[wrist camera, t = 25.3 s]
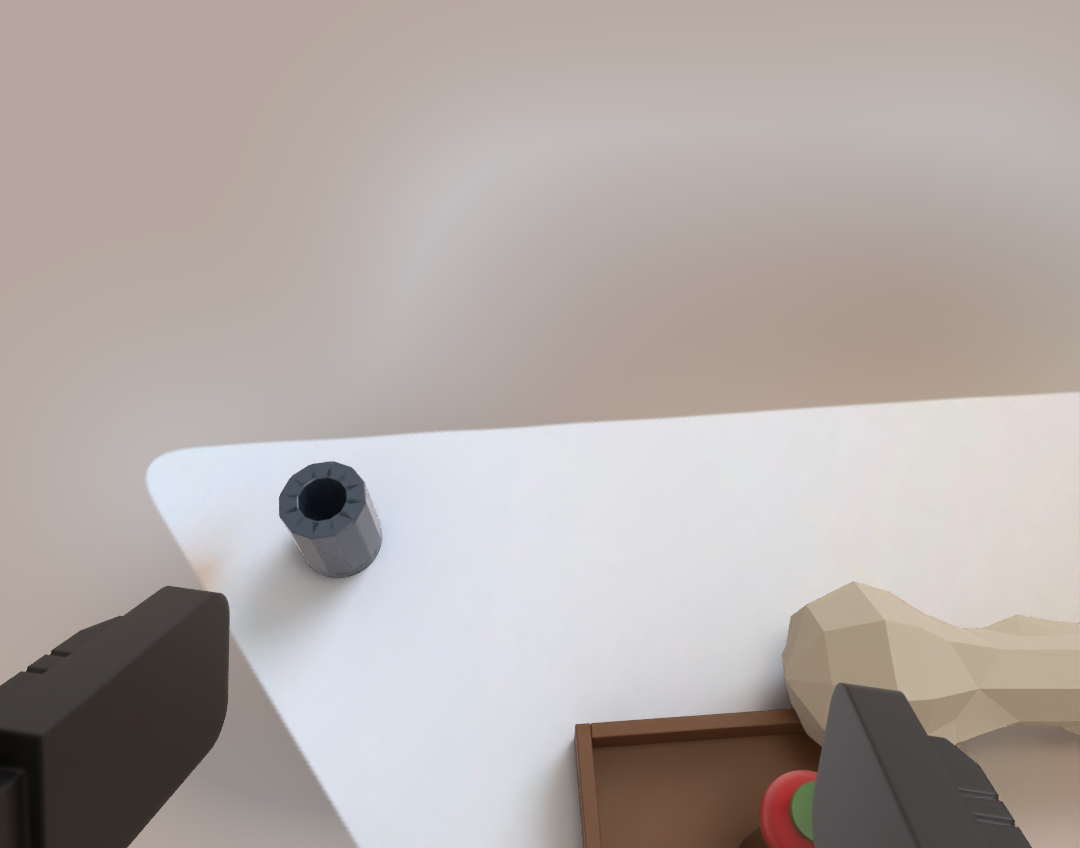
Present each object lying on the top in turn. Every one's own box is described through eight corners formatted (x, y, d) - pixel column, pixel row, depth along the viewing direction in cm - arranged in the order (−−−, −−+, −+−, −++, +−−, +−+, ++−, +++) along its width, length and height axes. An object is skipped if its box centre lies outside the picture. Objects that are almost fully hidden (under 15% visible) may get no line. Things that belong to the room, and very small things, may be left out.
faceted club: (746, 594, 45) (1216, 593, 46) (760, 772, 42) (1257, 767, 43) (802, 571, 37) (1376, 571, 37) (823, 791, 34) (1438, 785, 35)
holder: (288, 562, 48) (262, 521, 44) (326, 496, 50) (305, 451, 46) (359, 588, 47) (340, 549, 43) (395, 519, 49) (380, 476, 45)
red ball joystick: (710, 879, 39) (760, 844, 29) (729, 802, 40) (782, 745, 31) (786, 909, 38) (863, 884, 28) (802, 830, 40) (879, 780, 30)
